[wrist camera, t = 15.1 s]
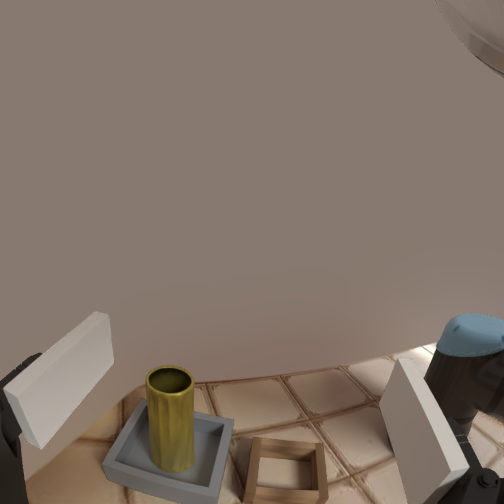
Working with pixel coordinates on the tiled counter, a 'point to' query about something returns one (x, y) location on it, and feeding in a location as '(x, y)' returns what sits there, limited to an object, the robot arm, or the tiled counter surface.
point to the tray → (166, 483)
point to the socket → (285, 500)
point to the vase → (171, 418)
